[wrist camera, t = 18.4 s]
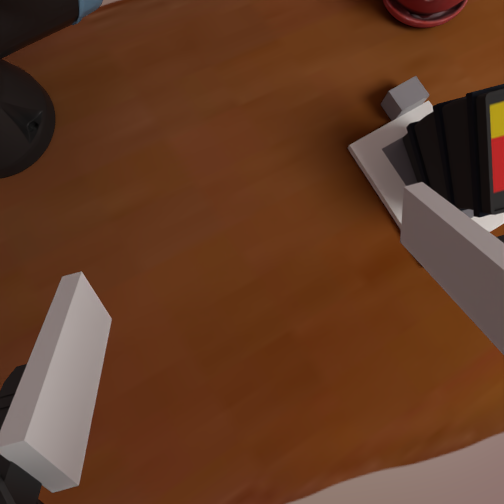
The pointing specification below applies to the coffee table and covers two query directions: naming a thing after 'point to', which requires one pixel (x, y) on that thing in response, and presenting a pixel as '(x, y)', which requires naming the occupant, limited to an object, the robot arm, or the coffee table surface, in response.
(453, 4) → the plant pot
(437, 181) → the magazine
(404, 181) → the charging pad
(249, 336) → the coffee table surface
